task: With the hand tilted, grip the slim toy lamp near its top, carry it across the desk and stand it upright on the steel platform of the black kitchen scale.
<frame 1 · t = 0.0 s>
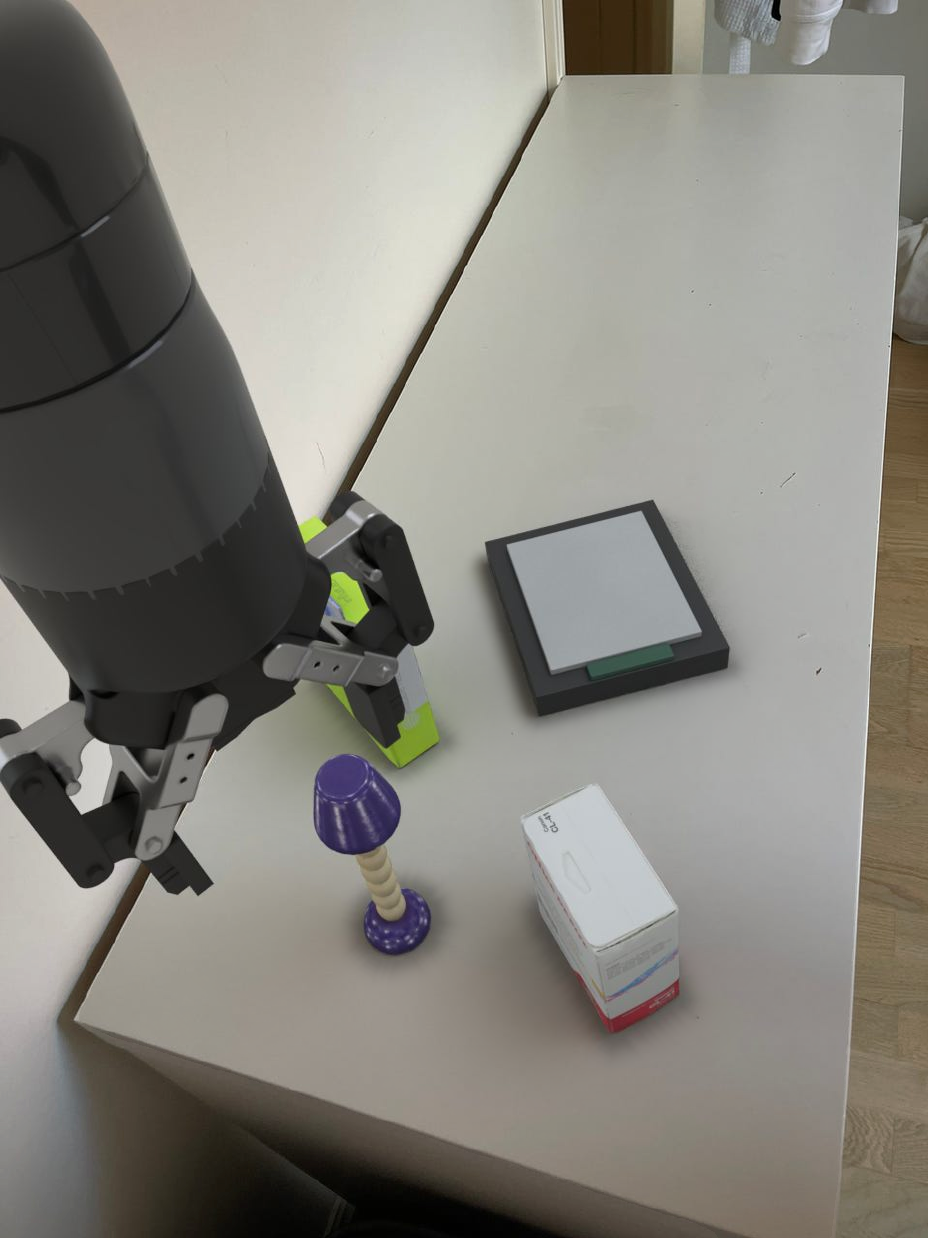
hand: (290, 799, 37), 27 cm above the table, tool pointing down, fingers open, 8 cm apart
toy lamp: (402, 919, 62), on the table
ink box: (604, 954, 59), on the table
box: (379, 713, 73), on the table
scale: (600, 611, 76), on the table
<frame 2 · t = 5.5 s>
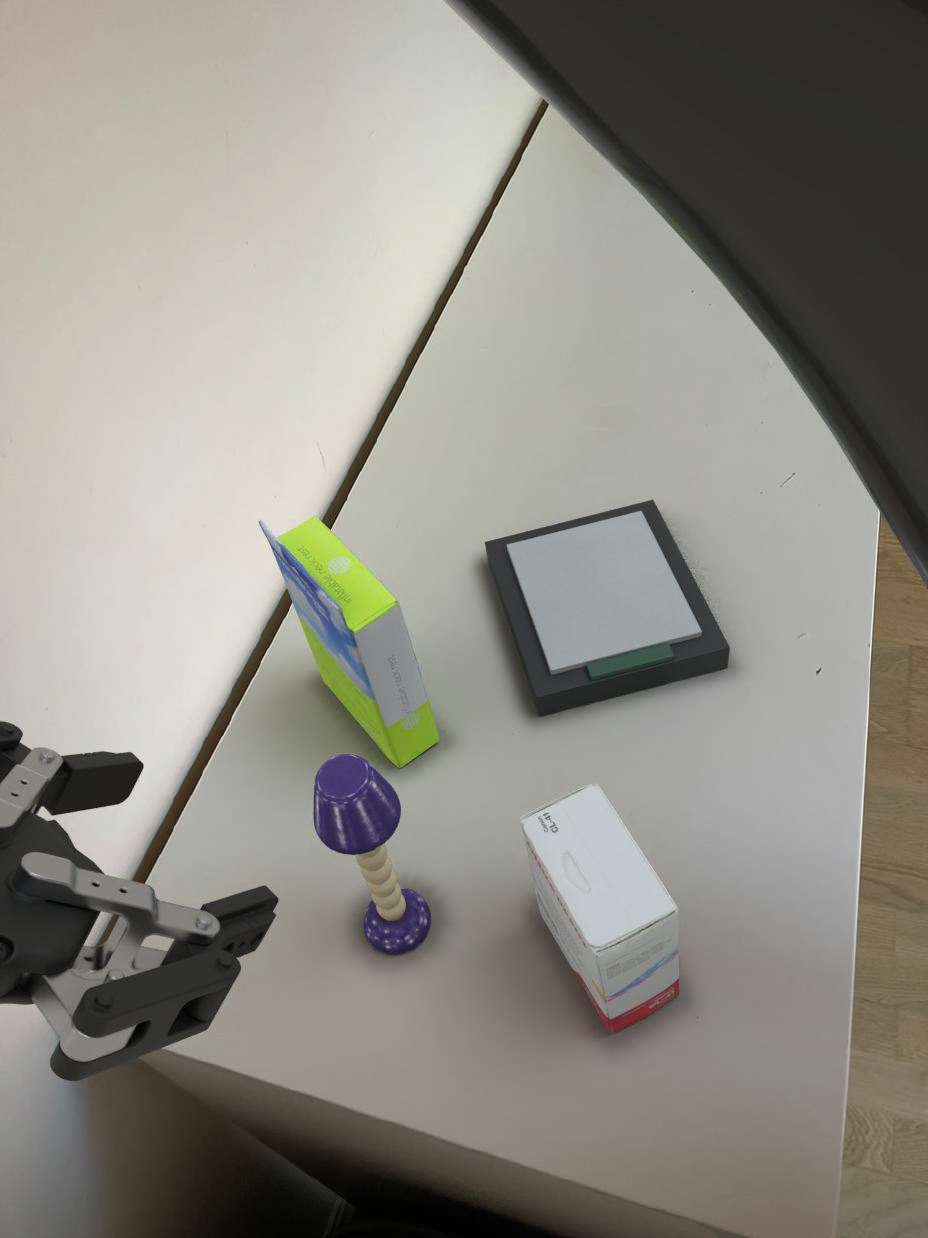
hand: (194, 840, 40), 24 cm above the table, tool tilted 40°, fingers open, 8 cm apart
nothing on the table moved.
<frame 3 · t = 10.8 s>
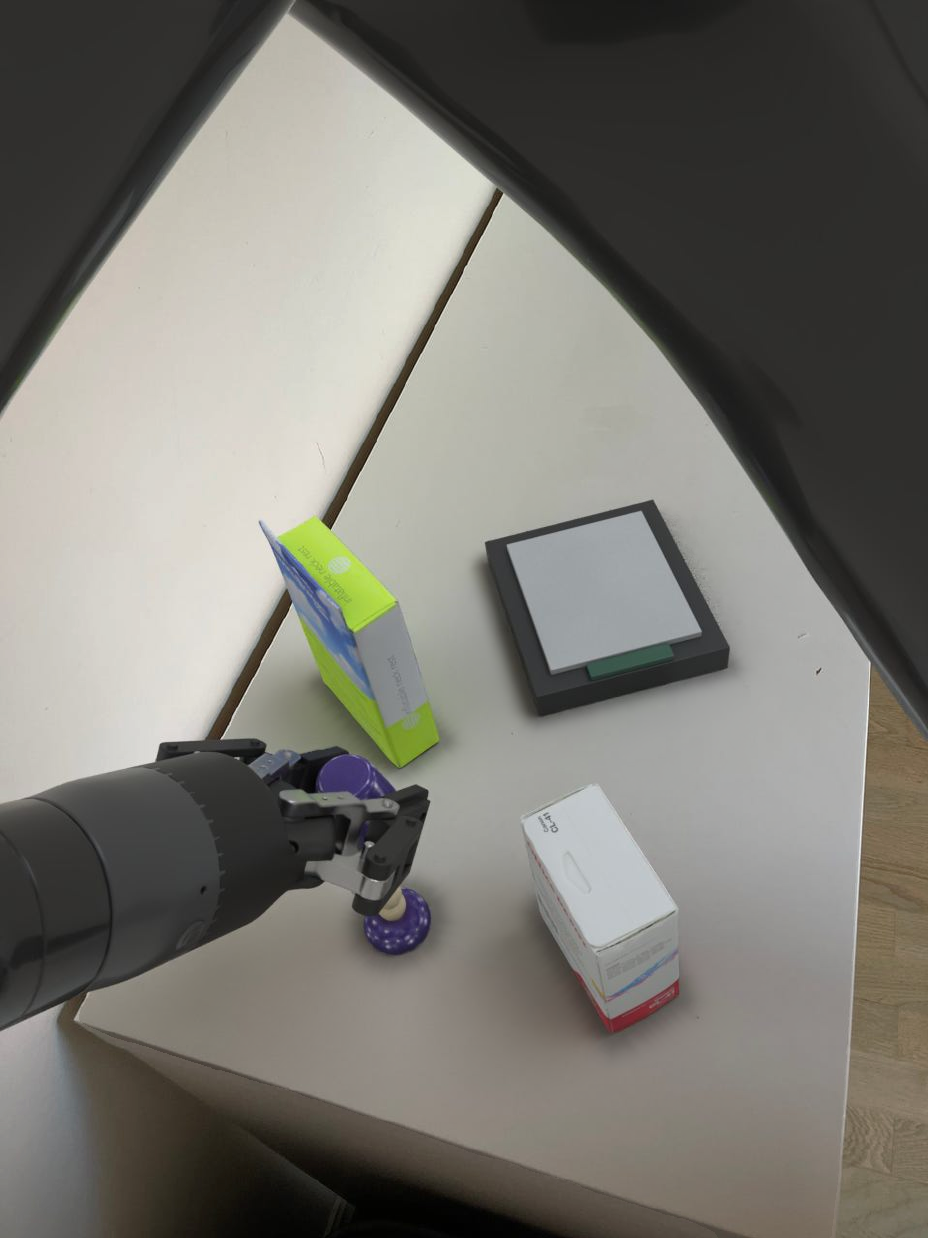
hand: (378, 784, 53), 13 cm above the table, tool tilted 45°, fingers closed on toy lamp, 4 cm apart
toy lamp: (402, 919, 62), on the table, touching gripper
everything else where it was.
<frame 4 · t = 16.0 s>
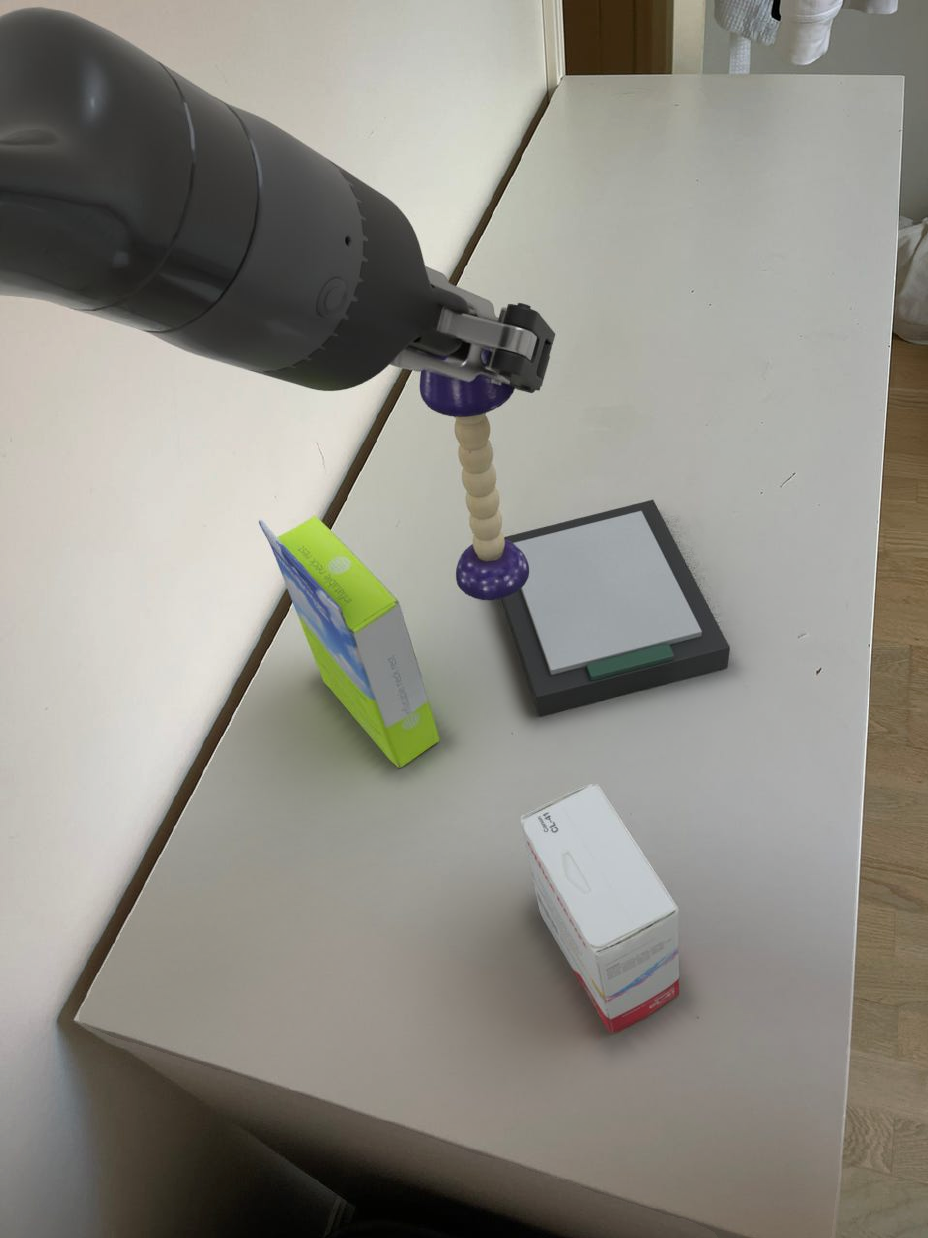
hand: (487, 358, 48), 30 cm above the table, tool tilted 45°, fingers closed on toy lamp, 4 cm apart
toy lamp: (497, 573, 57), point 16 cm above the table, touching gripper
everything else where it was.
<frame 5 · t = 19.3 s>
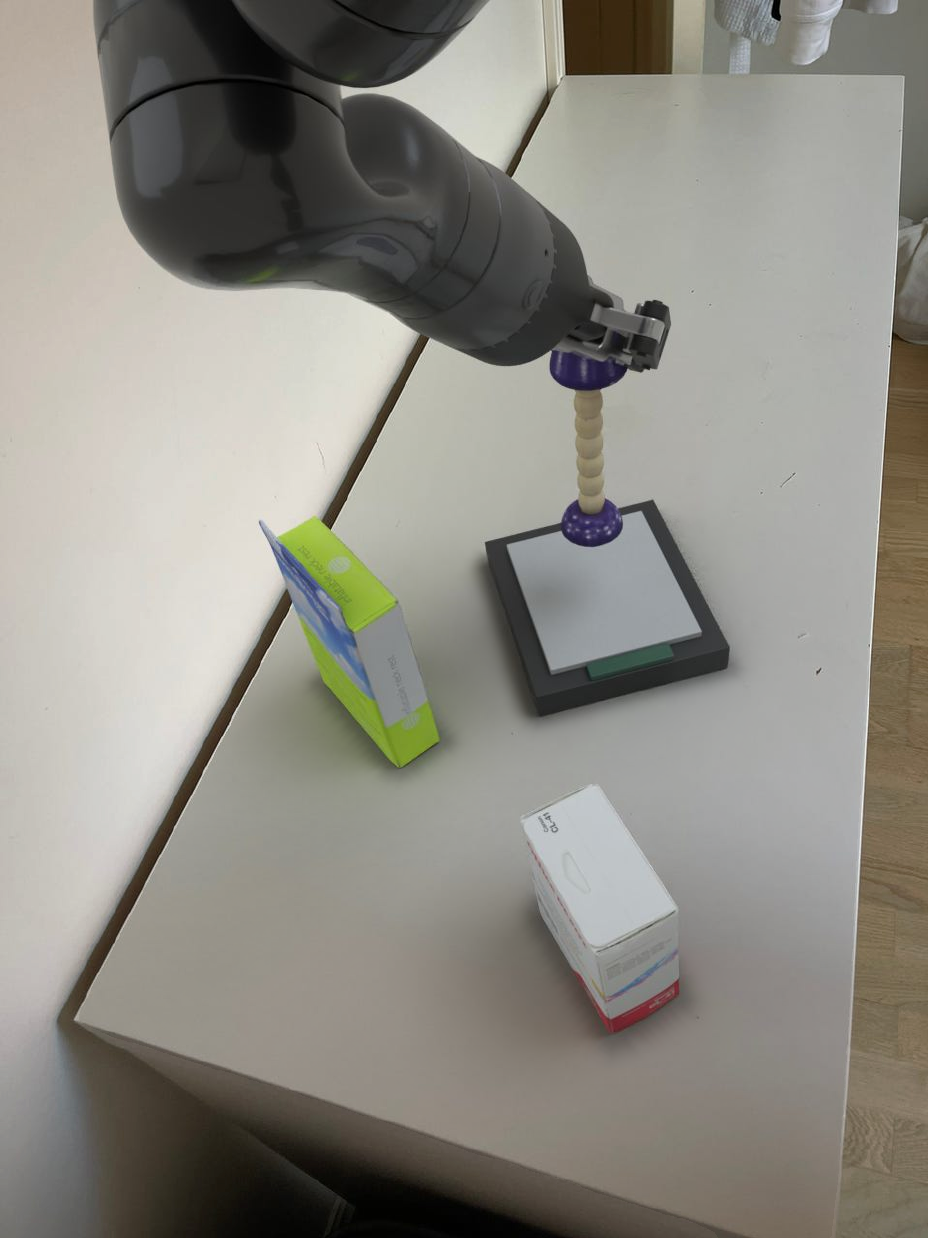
hand: (602, 344, 60), 23 cm above the table, tool tilted 45°, fingers closed on toy lamp, 4 cm apart
toy lamp: (594, 525, 69), point 10 cm above the table, touching gripper
everything else where it was.
when the fingers open (16 cm above the table, at t = 21.6 s): toy lamp stays where it is, resting on scale.
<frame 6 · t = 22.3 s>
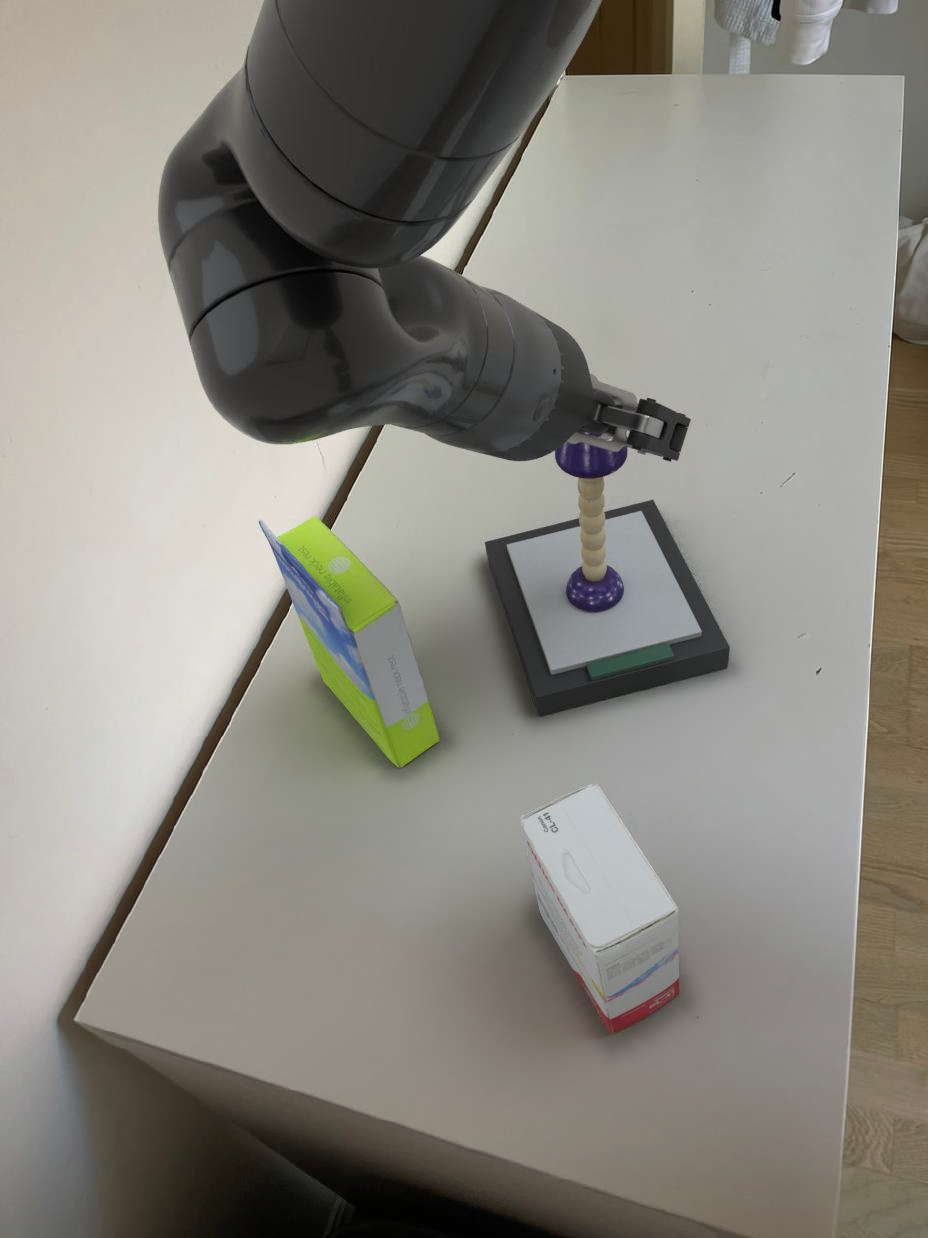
hand: (600, 422, 64), 17 cm above the table, tool tilted 45°, fingers open, 8 cm apart
toy lamp: (597, 590, 74), point 3 cm above the table, touching scale
everything else where it was.
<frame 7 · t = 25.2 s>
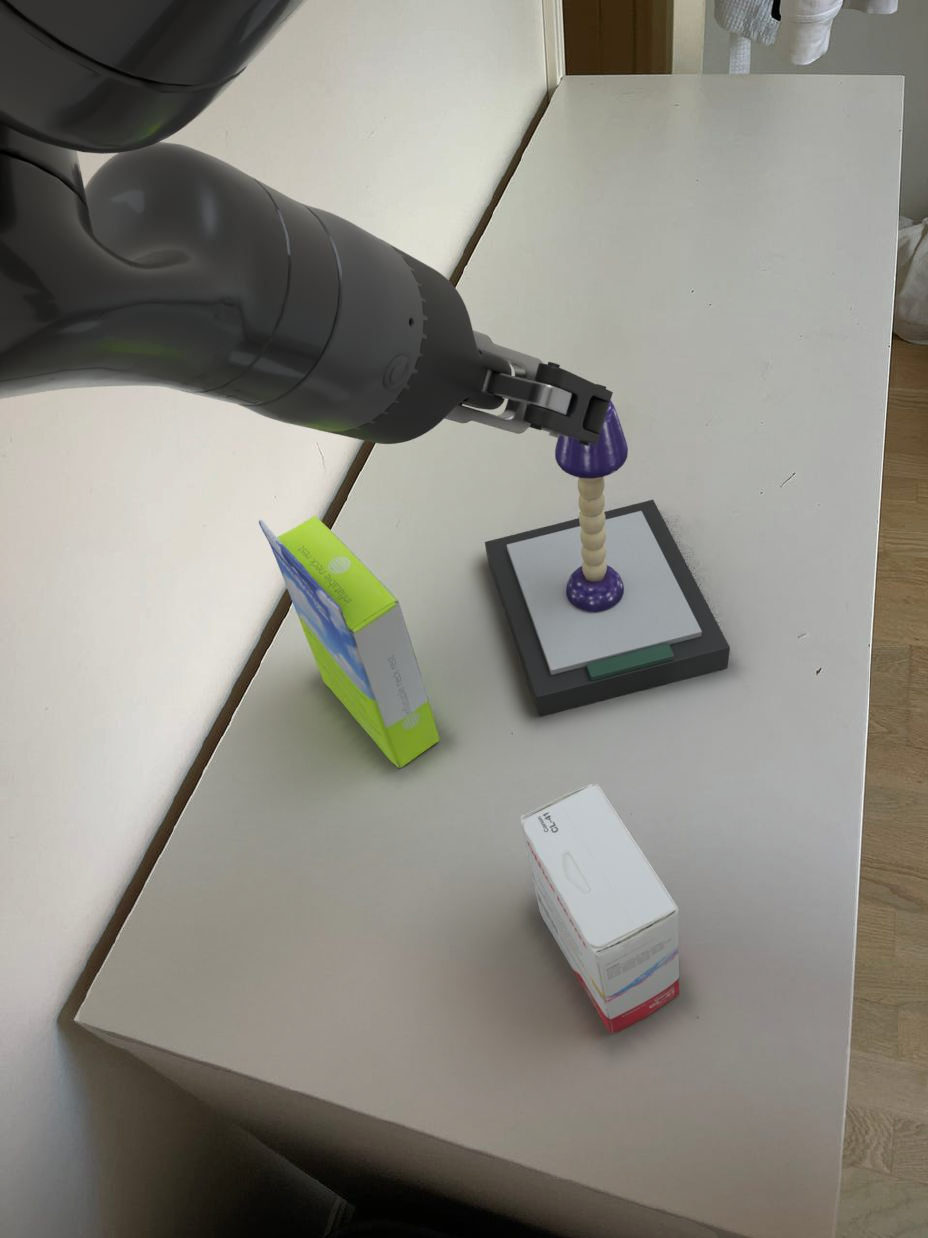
hand: (514, 399, 52), 26 cm above the table, tool tilted 45°, fingers open, 8 cm apart
nothing on the table moved.
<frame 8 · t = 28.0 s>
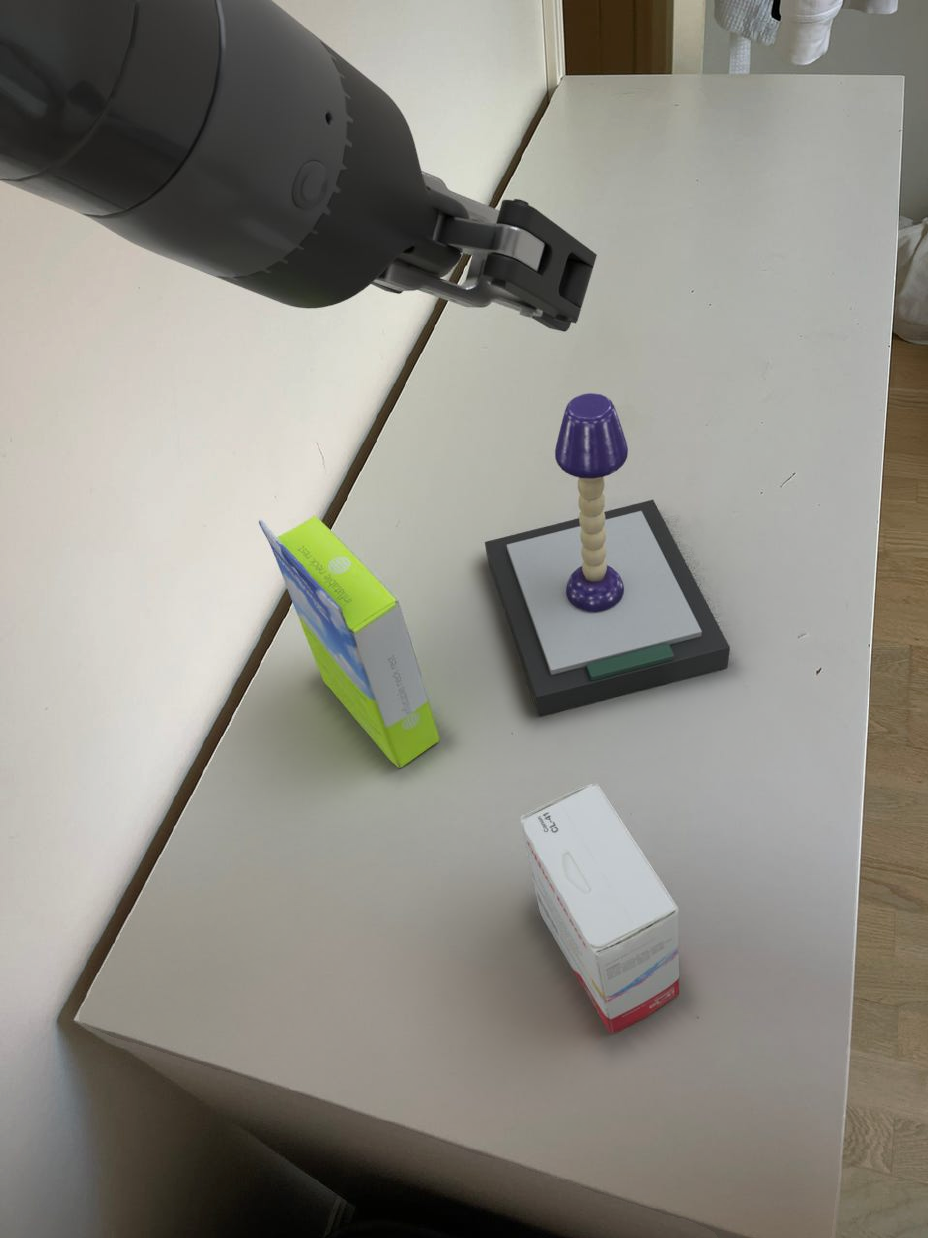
hand: (481, 287, 44), 35 cm above the table, tool tilted 45°, fingers open, 8 cm apart
nothing on the table moved.
at the end: toy lamp inside the target area on the scale (0.4 cm from its centre), point 2.8 cm above the scale's base; toy lamp tilted 0°; the gripper is holding nothing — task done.
